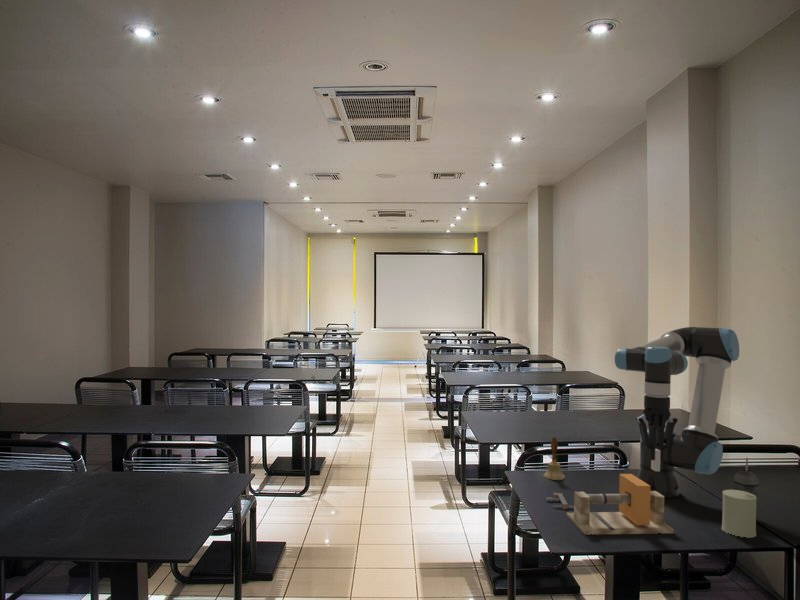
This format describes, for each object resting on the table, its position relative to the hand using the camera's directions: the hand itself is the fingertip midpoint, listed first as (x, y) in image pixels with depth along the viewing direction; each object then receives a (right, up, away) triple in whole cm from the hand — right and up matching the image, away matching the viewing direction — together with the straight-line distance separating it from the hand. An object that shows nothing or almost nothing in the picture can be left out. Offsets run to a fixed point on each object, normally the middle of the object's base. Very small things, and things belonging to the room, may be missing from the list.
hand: (655, 470), depth 180 cm
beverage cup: (+33, -18, +7) cm, 38 cm away
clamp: (-25, -17, +15) cm, 34 cm away
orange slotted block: (-7, -15, 0) cm, 16 cm away
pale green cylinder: (+23, -18, -5) cm, 30 cm away
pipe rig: (-12, -17, -1) cm, 21 cm away
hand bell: (-19, -17, +47) cm, 53 cm away
